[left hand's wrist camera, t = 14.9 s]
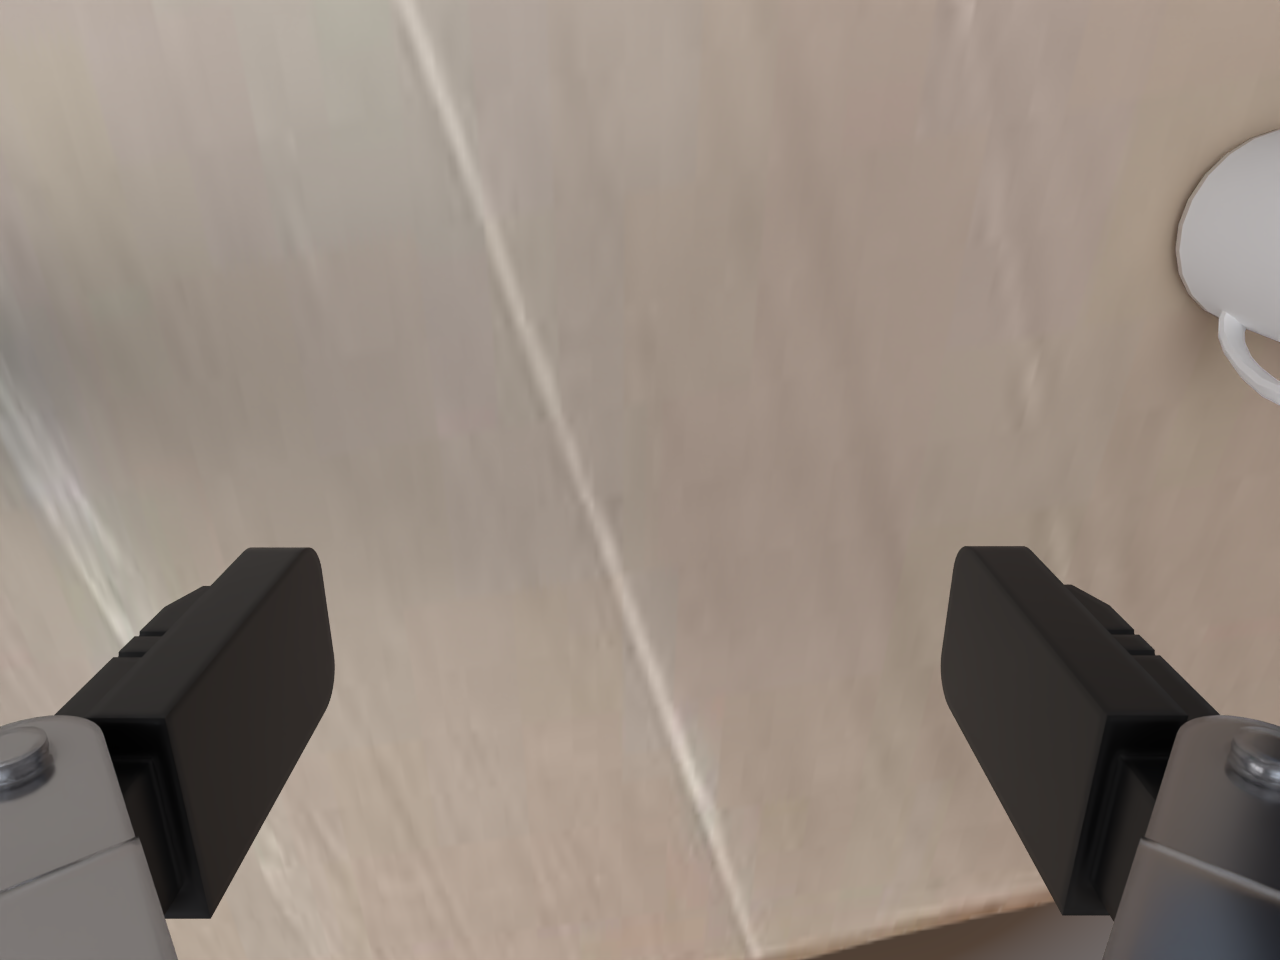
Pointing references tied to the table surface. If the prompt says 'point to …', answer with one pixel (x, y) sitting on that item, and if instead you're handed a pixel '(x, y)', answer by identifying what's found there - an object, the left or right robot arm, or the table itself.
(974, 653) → the left robot arm
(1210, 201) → the mug
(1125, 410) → the table surface
